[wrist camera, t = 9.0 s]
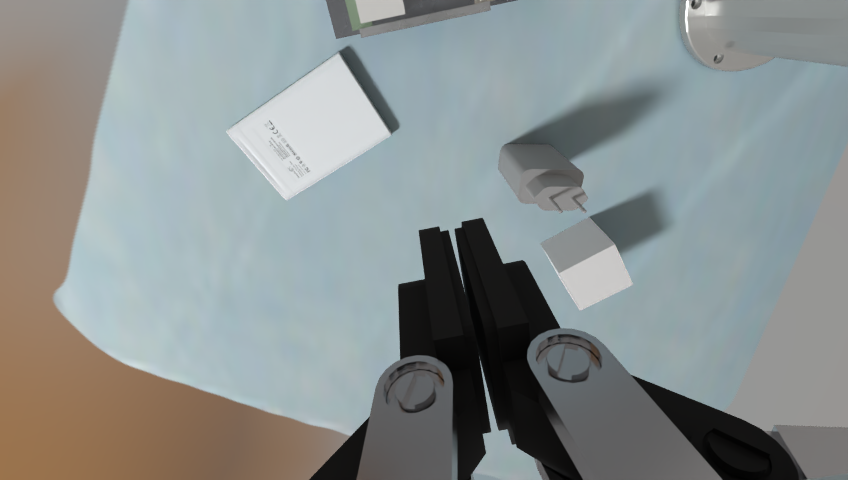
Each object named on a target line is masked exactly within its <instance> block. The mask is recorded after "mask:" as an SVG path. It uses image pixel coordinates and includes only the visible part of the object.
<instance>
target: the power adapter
mask: <svg viewBox="0 0 848 480" xmlns="http://www.w3.org/2000/svg"><path fill="white" fill-rule="evenodd" d="M498 169H499V171H500V173H501V174H502V176H503V177H504V179H505V180H506V182H507V183H508V185H509V186H510V188H511V189H512V191H513V192H514V194H515V195H516V197H517V198H518V200H519V201H520V202H521V203H526V204H537V205H538V206H539V207H540V208H541V209H542V210H558V212H559V213H562V212H563V211H562V210H575V209H577V208H579V209H580V210H581V211H582V212H583V213H586V210H585V209H584V208H583V207H582V204H583V203H584V202H586V201H587V199H588V197H587V195H586V194H585V192H584V190H583V189H582V188H581V186H582V182H583V178H584V175H583V172H582V171H581V170H579V169H578V168H577V167H576V166H575V165H573V164H572V163H571V162H570V161H569V160H568V159H566V158H565V157H564V156H563V155H562V154H561V153H559V152H558V151H557V150H556V149H555V148H553V147H552V146H551V145H548V144H506V145H504V146H503V147H502V148H501V150H500V157H499V164H498Z"/></svg>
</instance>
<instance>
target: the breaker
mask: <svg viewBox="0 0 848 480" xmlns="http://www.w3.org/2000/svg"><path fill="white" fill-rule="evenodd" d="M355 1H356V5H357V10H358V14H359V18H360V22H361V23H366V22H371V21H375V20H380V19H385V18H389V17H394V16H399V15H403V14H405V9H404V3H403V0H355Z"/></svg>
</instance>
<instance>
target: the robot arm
mask: <svg viewBox="0 0 848 480" xmlns="http://www.w3.org/2000/svg"><path fill="white" fill-rule="evenodd" d="M691 3H692V4H691ZM680 29H681V35H682V39H683V41H684V43H685V46H686V48H687V50H688V51H689V52H690V54H691V55H692V56H693V57H694V59H696V60H697V61H698V62H700V63H701V64H703V65H704V66H707V67H710V68H712V69H717V70H722V71H742V70H747V69H752V68H754V67H757V66H760V65H762V64H765V63H767V62H768V61H770V60H772V59H774V58H783V59H791V60H799V61H806V62H814V63H822V64H830V65H838V66H845V67H848V0H681V4H680ZM455 235H456V241H457V247H458V254H459V260H460V266H461V272H462V278H463V284H464V288H463V284H462V280H461V277H460V273H459V269H458V265H457V261H456V258H455V254H454V250H453V246H452V242H451V239H450V235H449V231H448V230H447V231H442V232H440V228H439V227H434V228H429V229H424V230H419V236H420V244H421V251H422V259H423V267H424V275H425V279H423V280H418V281H413V282H408V283H403V284H399V285H398V297H399V330H400V360H399V361H397V362H395V363H394V364H392V365H391V366H390V367H389V368H387V369H386V370H385V372H384V373H383V374H382V375H381V377H380V378H379V381H378V383H377V386H376V389H375V394H374V398H373V403H372V408H371V413H370V417H369V418H368V419H367V420H366V421H365V422H364V423H363V424H362V425H361V426H360V427H359V428H358V429H357V430H356V431H355V432H354V433H353V435H352V436H351V437H350V438H349V439H348V440H347V441H346V442H345V443H344V444H343V445H342V446H341V447H340V448H339V449H338V450H337V451H336V452H335V453H334V454H333V455H332V456H331V457H330V458H329V460H328V461H327V462H326V463H325V464H324V465H323V466H322V467H321V468H320V469H319V470H318V471H317V472H316V473H315V474H314V475H313V476H312V477H311V479H310V480H474V477H473V471H474V470H475V468H476V467H477V465H478V464H479V462H480V461H481V460H482V458H483V457H484V455H485V454H486V451H485V445H484V439H483V434H484V433H489V432H491V428H490V422H489V415H488V409H487V403H486V397H485V390H484V384H483V378H482V372H481V365H480V361H481V364H482V368H483V372H484V376H485V380H486V384H487V388H488V392H489V396H490V399H491V403H492V407H493V411H494V415H495V419H496V423H497V426H498V430H499V431H500V430H505V429H508V432H509V436H510V439H511V443H512V445H513V444H516V446H517V448H519V449H520V450H522V451H524V452H525V453H527V454H529V455H530V456H532V457H534V459H535V463H536V466H537V469H538V471H539V473H540V475H541V477H542V479H543V480H848V428H842V427H816V426H815V427H814V426H787V425H774V427H773V430H772V431H763V430H762V429H760V428H758V427H756V426H754V425H752V424H750V423H748V422H746V421H744V420H742V419H740V418H737V417H734V416H732V415H730V414H727V413H725V412H722V411H720V410H717V409H715V408H712V407H710V406H707V405H705V404H702V403H700V402H697V401H695V400H692V399H690V398H687V397H685V396H682V395H680V394H677V393H675V392H672V391H670V390H667V389H665V388H662V387H660V386H657V385H655V384H652V383H650V382H647V381H645V380H642V379H640V378H637V377H635V376H632V375H630V374H629V372H628V371H627V370H626V369H625V368H624V367H623V366H622V364H621V363H620V362H619V361H618V360H617V359H616V358H615V356H614V355H613V354H612V353H611V352H610V351H609V350H608V348H607V347H606V346H605V345H604V344H603V343H602V342H600V341H599V340H598V339H597V338H596V337H594V336H592V335H590V334H588V333H586V332H583V331H579V330H575V329H566V328H560V326H559V324H558V322H557V321H556V319H555V317H554V315H553V313H552V311H551V309H550V307H549V306H548V304H547V302H546V300H545V298H544V296H543V294H542V292H541V291H540V289H539V287H538V285H537V283H536V281H535V279H534V278H533V276H532V274H531V272H530V270H529V268H528V266H527V264H526V263H525V261H523V260H521V261H516V262H511V263H506V264H503V263H502V260H501V258H500V256H499V254H498V251H497V249H496V247H495V245H494V242H493V240H492V238H491V236H490V233H489V231H488V229H487V227H486V224H485V222H484V220H483V218H479V219H474V220H469V221H464V222H462V228H457V229H455ZM464 290H465V292H464ZM479 357H480V359H479Z"/></svg>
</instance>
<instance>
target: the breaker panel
mask: <svg viewBox="0 0 848 480" xmlns="http://www.w3.org/2000/svg"><path fill="white" fill-rule="evenodd" d="M511 1H516V0H403V3H404V9H405V14H403V15H399V16H394V17H389V18H385V19H380V20H375V21H371V22H366V23H361V22H360V18H359V14H358V10H357V5H356V1H355V0H326V2H327V6H328V10H329V13H330V17H331V21H332V25H333V28H334V32H335V36H336V39H338V38H342V37H347V36H352V35H356V34H361V38H363V37H367V36H372V35H377V34H381V33H386V32H391V31H396V30H400V29H405V28H410V27H414V26H419V25H424V24H428V23H433V22H438V21H442V20H447V19H452V18H457V17H461V16H466V15H471V14H475V13H480V12H485V11H489V10H491V9H490V6H492V5H497V4H502V3H506V2H511Z"/></svg>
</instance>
